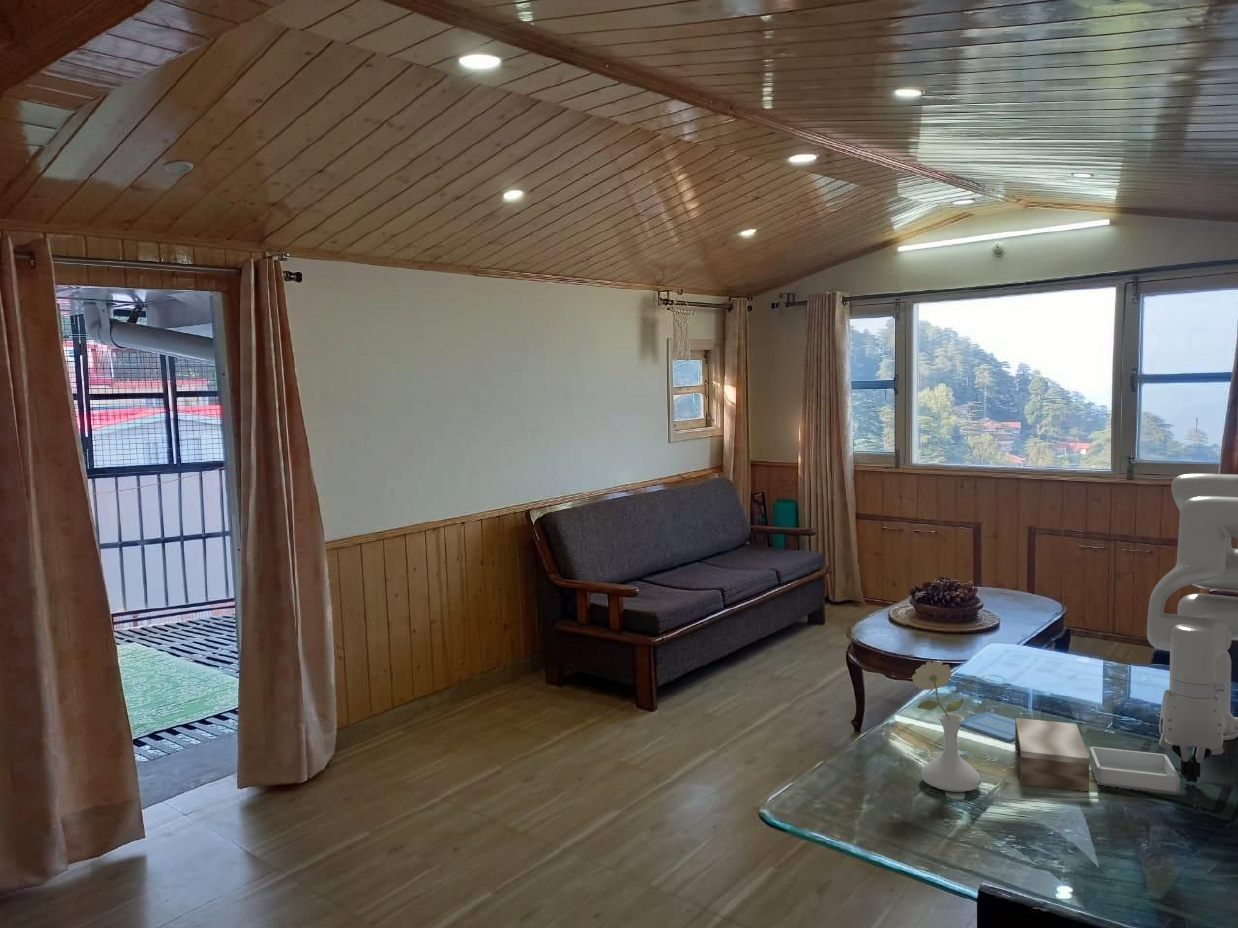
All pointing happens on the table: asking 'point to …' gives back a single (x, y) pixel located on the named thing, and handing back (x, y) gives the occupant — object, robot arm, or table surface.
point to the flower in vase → (949, 765)
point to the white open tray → (1134, 770)
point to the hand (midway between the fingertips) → (1190, 779)
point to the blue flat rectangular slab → (992, 725)
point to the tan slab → (1051, 754)
